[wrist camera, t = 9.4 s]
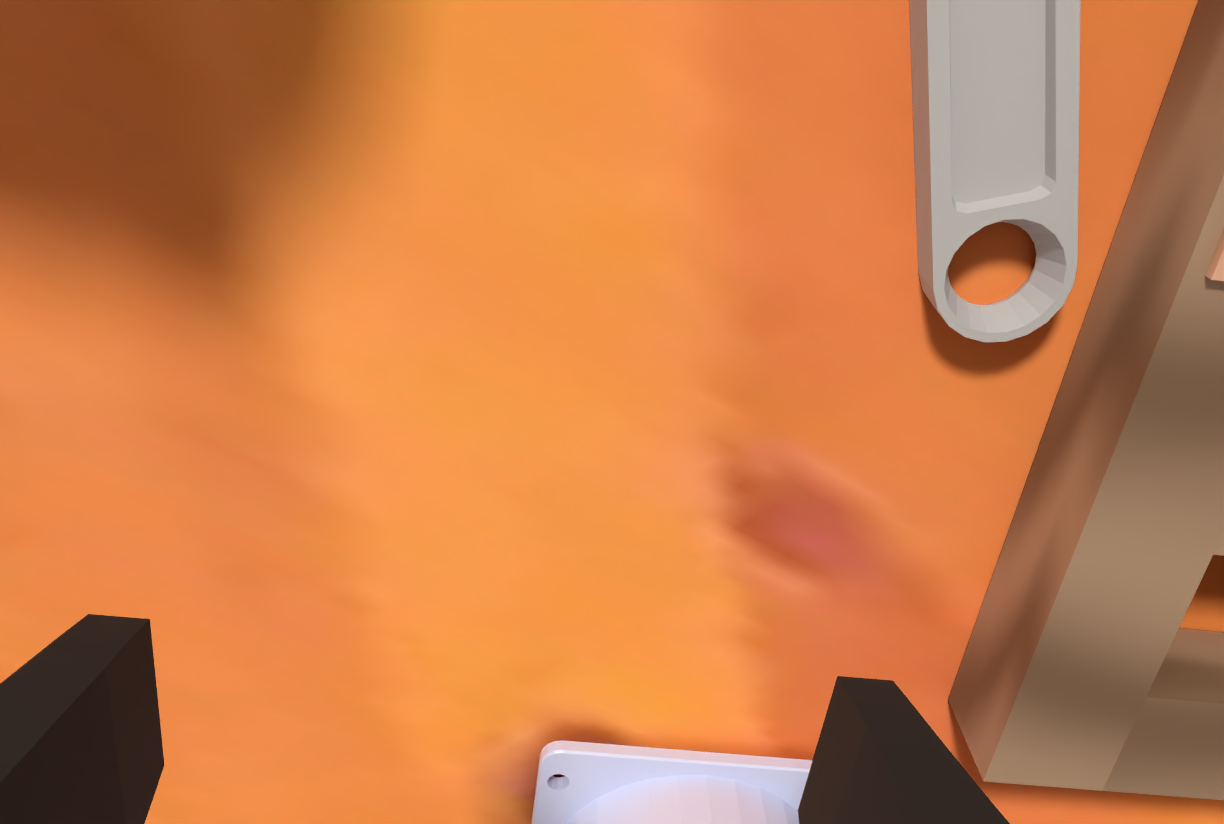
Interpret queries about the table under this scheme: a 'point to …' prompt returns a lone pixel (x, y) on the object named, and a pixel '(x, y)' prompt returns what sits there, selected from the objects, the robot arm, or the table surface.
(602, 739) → the table surface
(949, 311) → the adjustable wrench
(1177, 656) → the dock board
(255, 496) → the table surface
